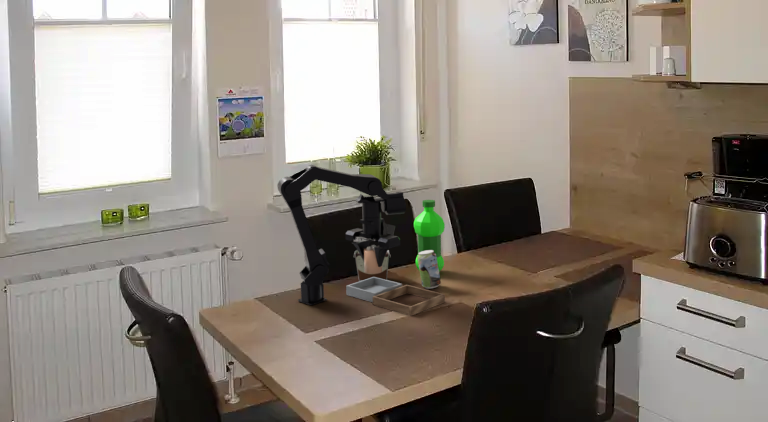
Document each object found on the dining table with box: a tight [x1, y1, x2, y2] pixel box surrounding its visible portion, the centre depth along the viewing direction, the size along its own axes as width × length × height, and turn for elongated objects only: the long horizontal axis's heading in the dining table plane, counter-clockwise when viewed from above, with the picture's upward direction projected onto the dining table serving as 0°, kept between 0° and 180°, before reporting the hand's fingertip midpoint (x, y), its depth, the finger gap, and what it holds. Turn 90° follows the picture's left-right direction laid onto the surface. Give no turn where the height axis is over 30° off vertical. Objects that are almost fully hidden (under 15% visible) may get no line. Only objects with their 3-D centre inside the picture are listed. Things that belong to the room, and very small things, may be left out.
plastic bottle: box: [413, 199, 446, 272], centre depth 268 cm, size 10×10×25 cm
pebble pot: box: [364, 244, 382, 274], centre depth 248 cm, size 6×6×8 cm
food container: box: [353, 249, 392, 282], centre depth 266 cm, size 12×6×10 cm, turn 84°
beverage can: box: [416, 250, 442, 290], centre depth 254 cm, size 6×7×12 cm
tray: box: [345, 277, 403, 303], centre depth 250 cm, size 12×12×3 cm
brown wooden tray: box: [372, 284, 446, 316], centre depth 240 cm, size 15×15×2 cm
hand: (373, 265), depth 248 cm, fingers closed on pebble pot, 6 cm apart
